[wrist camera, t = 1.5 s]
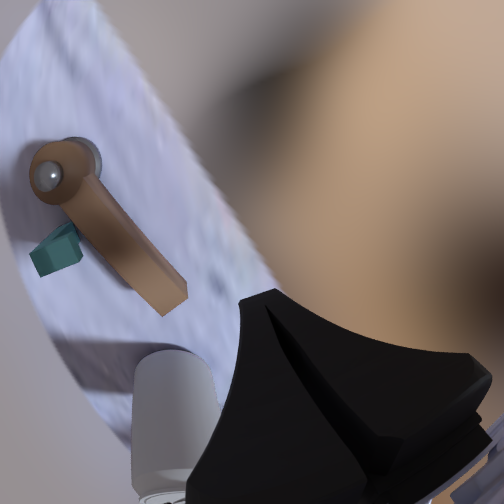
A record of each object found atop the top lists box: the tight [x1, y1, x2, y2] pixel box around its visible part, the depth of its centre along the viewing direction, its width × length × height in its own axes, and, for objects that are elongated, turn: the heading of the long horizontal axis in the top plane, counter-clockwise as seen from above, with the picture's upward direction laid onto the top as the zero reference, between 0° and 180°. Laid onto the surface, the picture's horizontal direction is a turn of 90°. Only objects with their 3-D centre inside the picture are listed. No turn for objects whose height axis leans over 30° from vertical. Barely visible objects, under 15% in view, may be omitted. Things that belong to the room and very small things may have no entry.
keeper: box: [29, 221, 83, 278], centre depth 14 cm, size 1×3×4 cm, turn 104°
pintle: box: [34, 137, 102, 192], centre depth 12 cm, size 4×4×4 cm
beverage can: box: [131, 350, 221, 504], centre depth 16 cm, size 6×6×12 cm
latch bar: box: [29, 141, 188, 317], centre depth 14 cm, size 12×3×3 cm, turn 34°
